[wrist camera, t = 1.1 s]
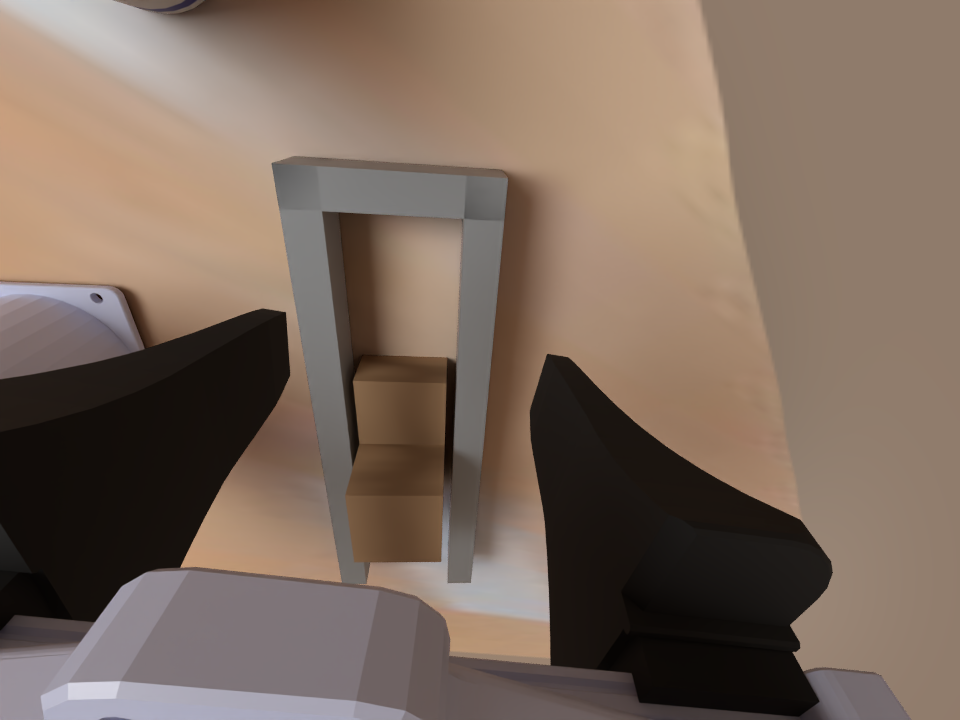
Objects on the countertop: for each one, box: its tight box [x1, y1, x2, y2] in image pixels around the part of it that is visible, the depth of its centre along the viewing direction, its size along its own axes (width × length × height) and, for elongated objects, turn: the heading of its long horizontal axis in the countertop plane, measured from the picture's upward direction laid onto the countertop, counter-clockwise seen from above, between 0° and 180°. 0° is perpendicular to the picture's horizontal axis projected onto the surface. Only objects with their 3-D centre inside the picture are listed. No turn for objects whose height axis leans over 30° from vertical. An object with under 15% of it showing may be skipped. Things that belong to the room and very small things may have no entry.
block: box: [345, 355, 447, 562], centre depth 23 cm, size 4×9×6 cm, turn 176°
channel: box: [272, 156, 508, 584], centre depth 24 cm, size 9×26×2 cm, turn 176°
